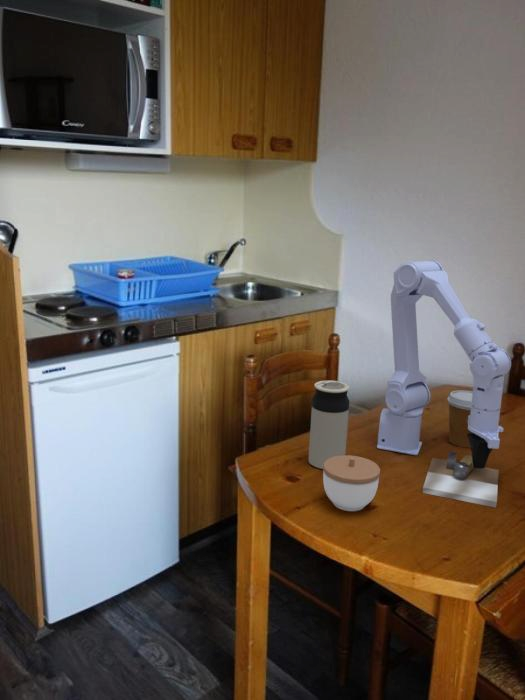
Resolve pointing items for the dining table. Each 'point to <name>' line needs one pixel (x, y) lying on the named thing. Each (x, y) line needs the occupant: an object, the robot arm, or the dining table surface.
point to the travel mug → (328, 422)
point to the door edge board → (462, 484)
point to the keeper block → (451, 460)
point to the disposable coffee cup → (459, 417)
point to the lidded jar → (350, 481)
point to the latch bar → (463, 467)
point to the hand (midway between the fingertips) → (478, 467)
